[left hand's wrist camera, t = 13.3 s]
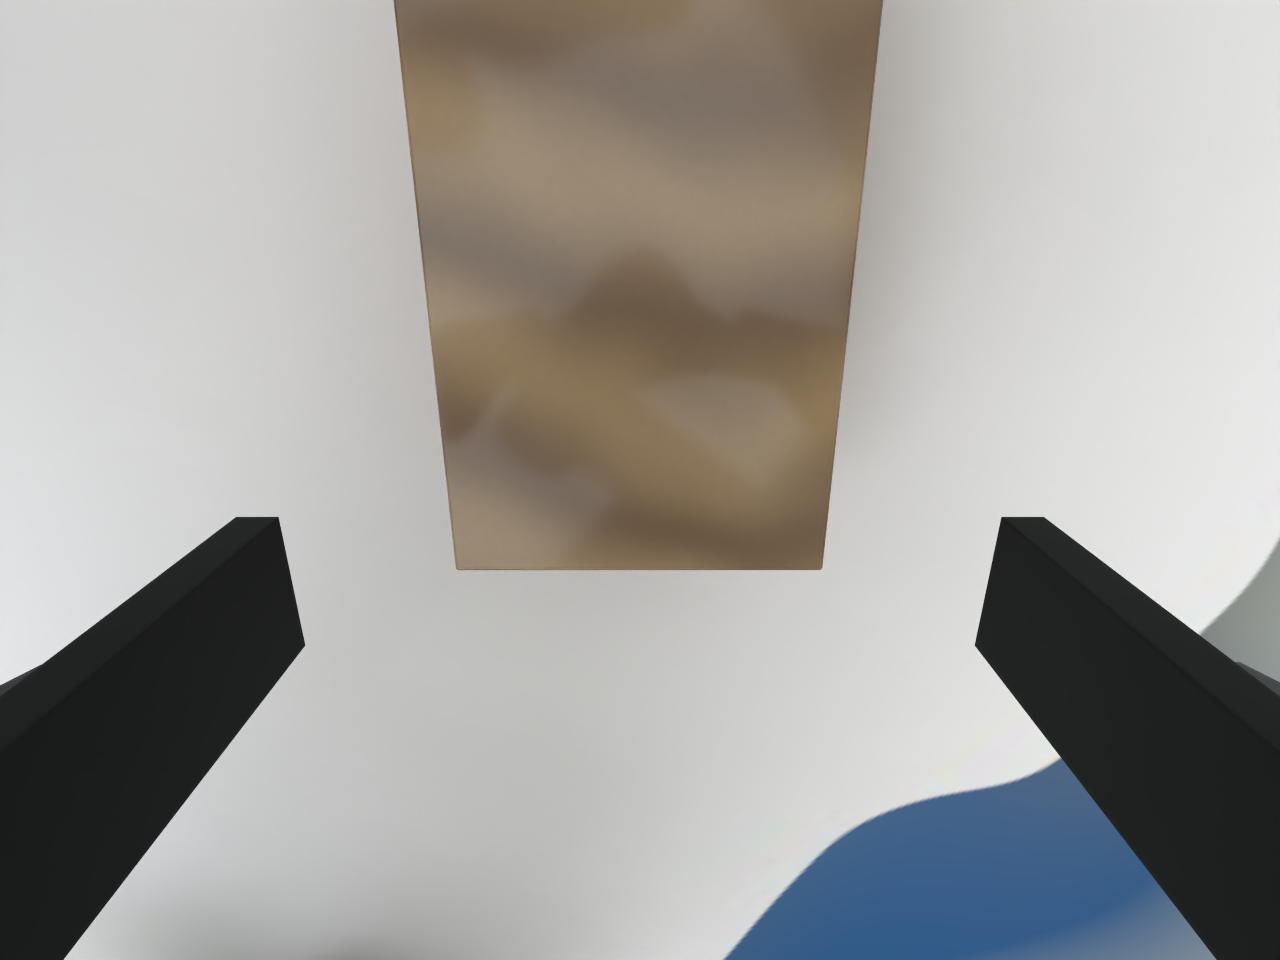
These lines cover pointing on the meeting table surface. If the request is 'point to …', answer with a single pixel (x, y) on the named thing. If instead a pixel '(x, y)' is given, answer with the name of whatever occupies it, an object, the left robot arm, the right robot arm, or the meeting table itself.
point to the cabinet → (638, 271)
